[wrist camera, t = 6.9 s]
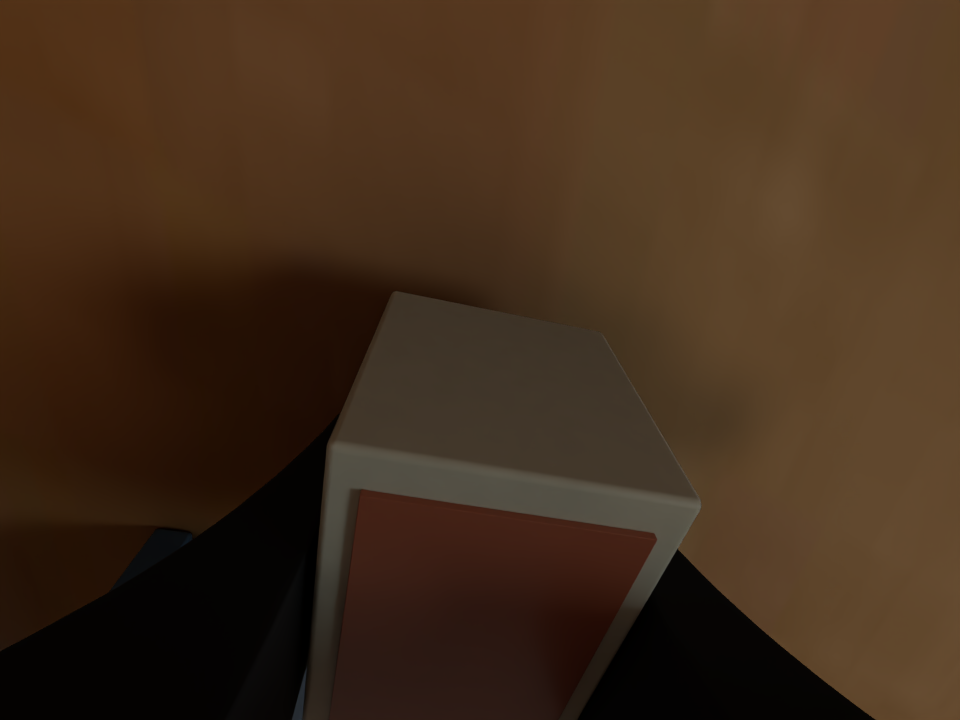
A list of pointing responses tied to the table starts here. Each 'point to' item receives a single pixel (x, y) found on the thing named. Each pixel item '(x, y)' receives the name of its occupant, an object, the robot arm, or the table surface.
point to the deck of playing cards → (485, 520)
